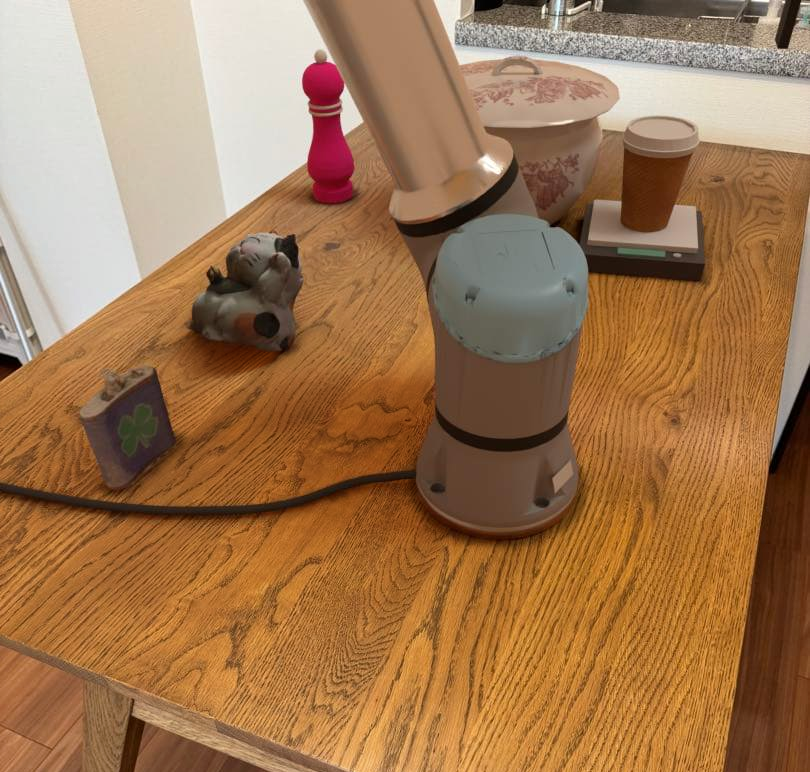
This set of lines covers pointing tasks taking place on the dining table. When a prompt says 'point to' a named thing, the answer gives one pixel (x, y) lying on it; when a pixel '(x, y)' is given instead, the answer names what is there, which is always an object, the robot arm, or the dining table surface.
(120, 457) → the flask
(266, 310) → the lucky cat figurine
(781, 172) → the dining table surface
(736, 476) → the dining table surface
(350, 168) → the pepper mill
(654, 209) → the disposable coffee cup
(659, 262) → the kitchen scale
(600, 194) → the dining table surface
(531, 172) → the chamber pot
